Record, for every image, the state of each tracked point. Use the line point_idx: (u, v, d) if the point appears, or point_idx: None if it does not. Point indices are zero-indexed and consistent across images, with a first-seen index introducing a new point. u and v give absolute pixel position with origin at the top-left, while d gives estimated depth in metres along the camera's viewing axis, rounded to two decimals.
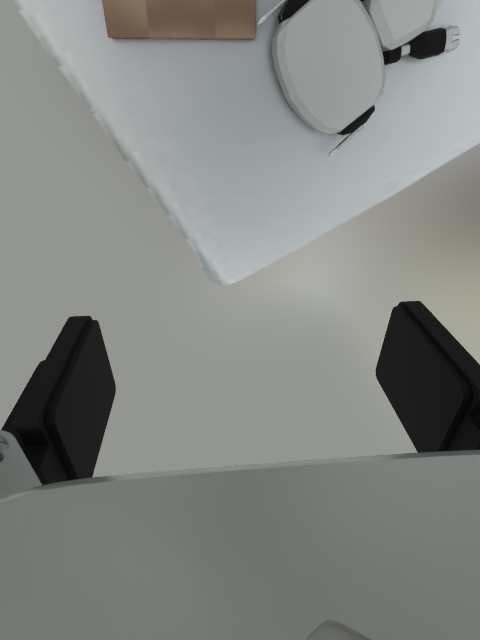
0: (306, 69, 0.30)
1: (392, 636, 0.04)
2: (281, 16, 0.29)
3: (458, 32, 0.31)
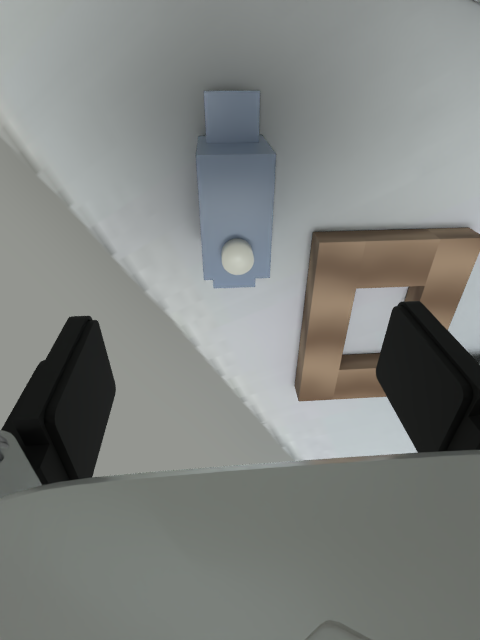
0: None
1: (392, 636, 0.04)
2: None
3: None
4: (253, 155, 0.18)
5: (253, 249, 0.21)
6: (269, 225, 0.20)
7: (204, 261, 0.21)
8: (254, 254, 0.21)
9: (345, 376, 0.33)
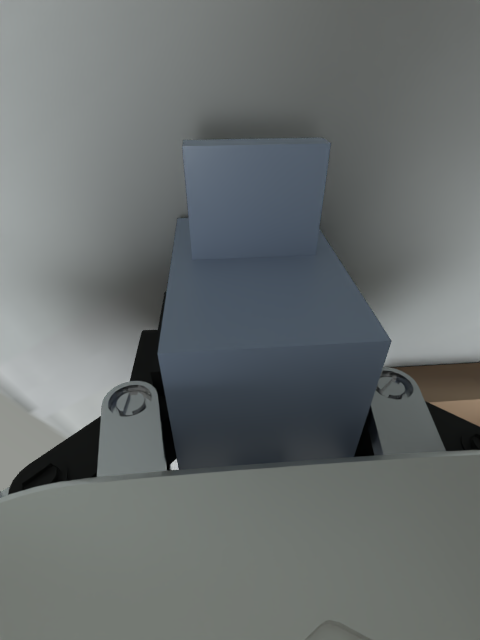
0: None
1: (392, 636, 0.04)
2: None
3: None
4: (326, 346, 0.06)
5: None
6: None
7: None
8: None
9: None
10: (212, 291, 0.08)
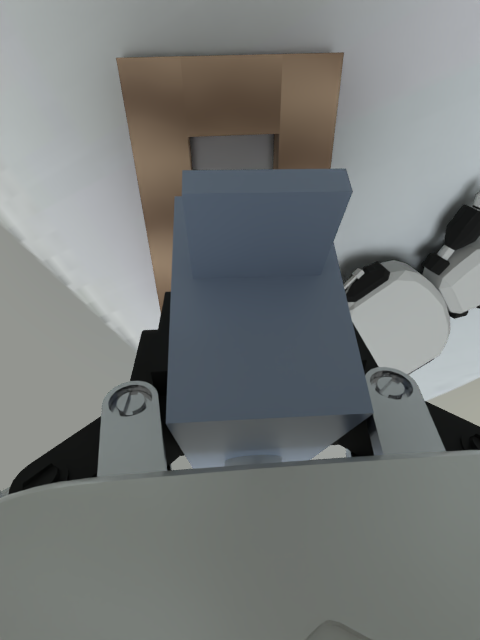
0: (369, 339, 0.28)
1: (392, 636, 0.04)
2: None
3: None
4: (315, 416, 0.07)
5: (284, 457, 0.11)
6: (321, 447, 0.10)
7: (194, 465, 0.12)
8: (284, 458, 0.12)
9: None
10: (214, 334, 0.08)
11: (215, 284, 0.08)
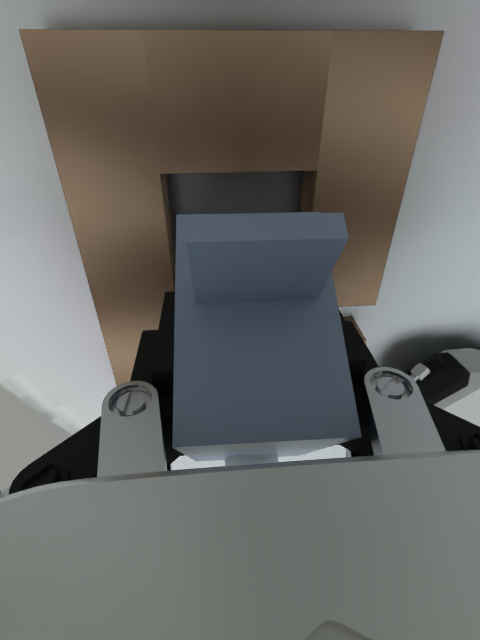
0: None
1: (391, 635, 0.04)
2: None
3: None
4: (308, 440, 0.08)
5: (279, 454, 0.12)
6: (314, 450, 0.11)
7: (196, 459, 0.13)
8: (280, 454, 0.13)
9: None
10: (215, 359, 0.08)
11: (216, 309, 0.09)
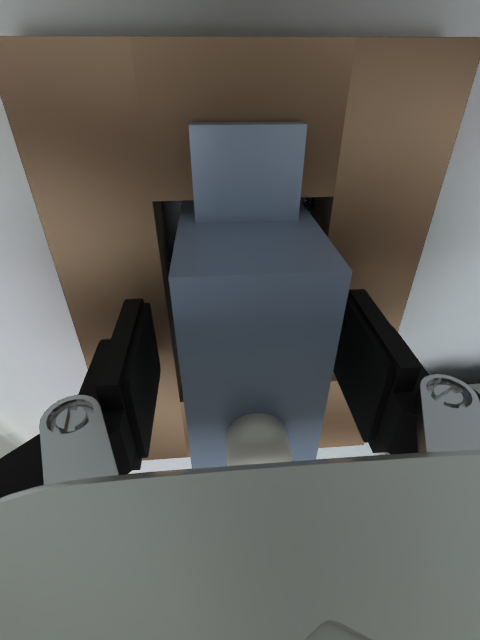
0: None
1: (391, 635, 0.04)
2: None
3: None
4: (301, 275, 0.08)
5: (288, 427, 0.11)
6: (323, 391, 0.10)
7: (192, 447, 0.11)
8: (289, 433, 0.11)
9: None
10: (211, 242, 0.09)
11: (213, 225, 0.10)
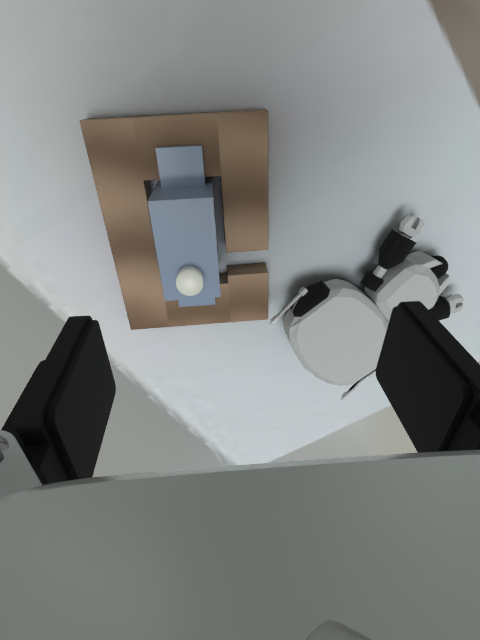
0: (317, 350, 0.32)
1: (391, 635, 0.04)
2: (293, 312, 0.31)
3: (461, 300, 0.33)
4: (194, 199, 0.22)
5: (203, 273, 0.25)
6: (214, 253, 0.24)
7: (163, 285, 0.25)
8: (205, 278, 0.25)
9: None
10: (166, 192, 0.24)
11: (168, 188, 0.25)
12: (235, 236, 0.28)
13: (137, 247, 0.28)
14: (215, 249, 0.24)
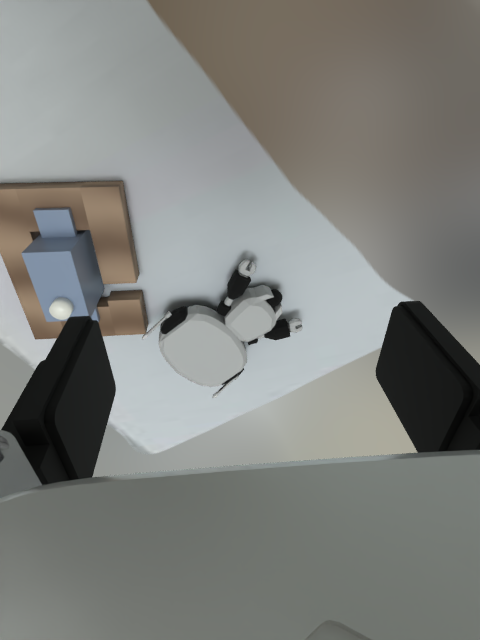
0: (183, 359, 0.41)
1: (391, 634, 0.04)
2: (161, 330, 0.39)
3: (300, 323, 0.42)
4: (56, 252, 0.31)
5: (73, 303, 0.33)
6: (79, 289, 0.33)
7: (43, 310, 0.34)
8: (75, 306, 0.34)
9: None
10: (41, 243, 0.32)
11: (47, 238, 0.33)
12: (108, 272, 0.36)
13: None
14: (79, 286, 0.33)
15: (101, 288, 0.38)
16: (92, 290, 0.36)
